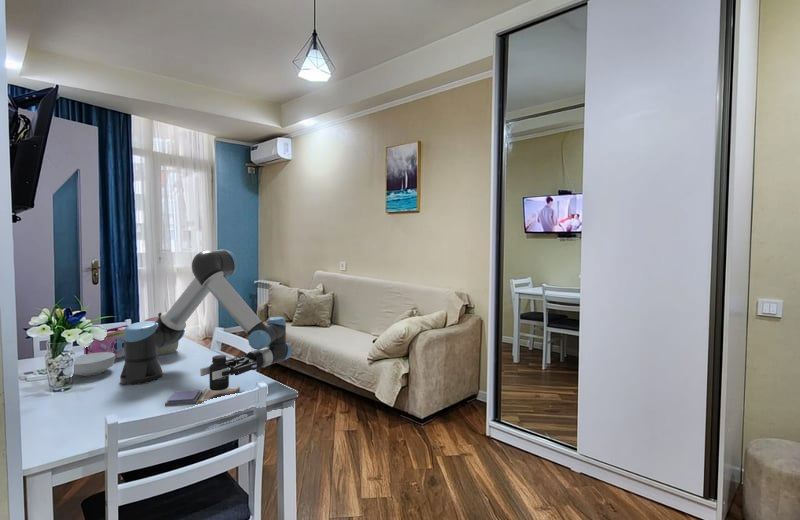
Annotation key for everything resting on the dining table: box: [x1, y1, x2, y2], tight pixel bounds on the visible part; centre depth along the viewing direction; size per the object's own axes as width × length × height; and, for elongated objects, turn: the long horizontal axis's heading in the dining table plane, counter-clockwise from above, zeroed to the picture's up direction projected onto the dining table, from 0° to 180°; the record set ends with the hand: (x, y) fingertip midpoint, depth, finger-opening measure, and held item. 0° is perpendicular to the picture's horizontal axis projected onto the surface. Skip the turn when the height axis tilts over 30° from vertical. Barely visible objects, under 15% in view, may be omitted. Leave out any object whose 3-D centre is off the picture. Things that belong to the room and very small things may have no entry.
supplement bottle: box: [208, 354, 230, 391], centre depth 156 cm, size 7×7×12 cm
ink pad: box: [164, 389, 203, 407], centre depth 153 cm, size 10×10×2 cm
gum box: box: [83, 324, 130, 360], centre depth 204 cm, size 24×8×14 cm, turn 164°
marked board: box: [196, 386, 240, 405], centre depth 157 cm, size 12×12×1 cm
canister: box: [144, 311, 180, 356], centre depth 213 cm, size 18×18×21 cm
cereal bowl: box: [73, 352, 116, 377], centre depth 181 cm, size 17×17×7 cm
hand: (206, 374), depth 152 cm, fingers closed on supplement bottle, 7 cm apart
